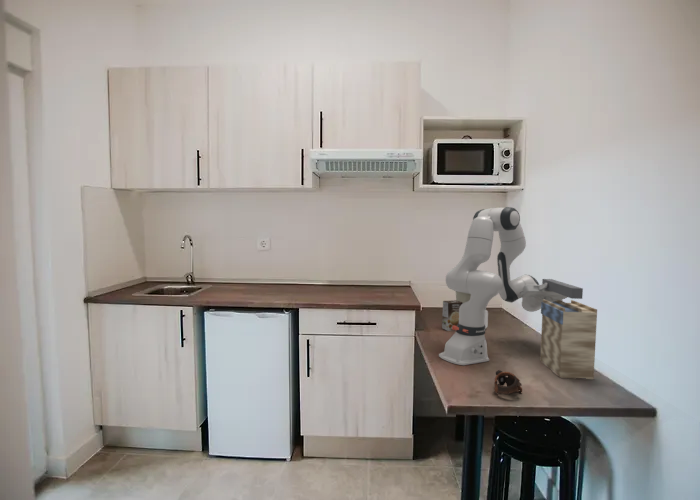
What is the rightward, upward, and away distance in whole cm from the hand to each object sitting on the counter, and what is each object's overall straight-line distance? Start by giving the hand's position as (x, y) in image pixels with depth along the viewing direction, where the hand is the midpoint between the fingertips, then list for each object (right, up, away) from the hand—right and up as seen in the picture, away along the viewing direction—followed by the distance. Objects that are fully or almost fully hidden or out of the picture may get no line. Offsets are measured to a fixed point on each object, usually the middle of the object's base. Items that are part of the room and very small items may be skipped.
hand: (553, 284), depth 158 cm
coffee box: (-31, -30, +48) cm, 65 cm away
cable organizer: (-18, -30, +53) cm, 64 cm away
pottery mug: (-34, -35, -31) cm, 58 cm away
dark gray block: (-1, -3, -6) cm, 7 cm away
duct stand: (-1, -34, -10) cm, 35 cm away
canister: (-11, -28, +82) cm, 87 cm away
